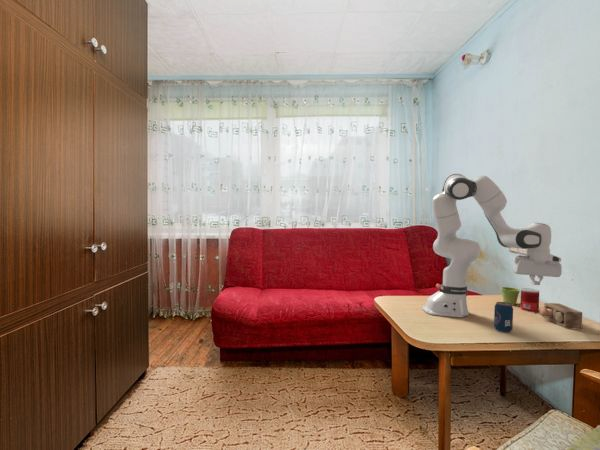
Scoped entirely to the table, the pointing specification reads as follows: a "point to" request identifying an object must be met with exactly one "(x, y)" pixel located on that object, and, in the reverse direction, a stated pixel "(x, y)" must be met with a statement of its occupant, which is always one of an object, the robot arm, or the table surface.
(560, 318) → the oak plug
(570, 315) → the socket block
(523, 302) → the canned food
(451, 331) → the table surface
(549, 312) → the terracotta plug
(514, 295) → the plant pot
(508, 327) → the soda can
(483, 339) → the table surface
